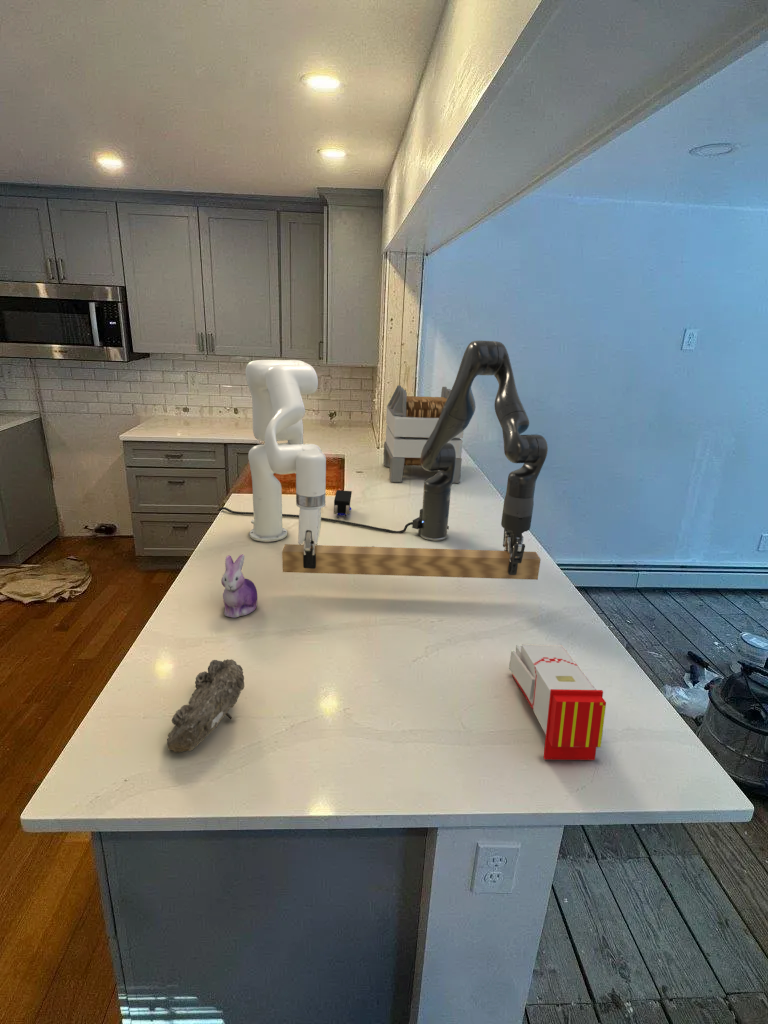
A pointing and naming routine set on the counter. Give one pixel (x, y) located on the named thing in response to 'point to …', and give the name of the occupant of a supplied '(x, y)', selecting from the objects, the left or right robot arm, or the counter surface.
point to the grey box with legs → (413, 431)
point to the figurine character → (342, 503)
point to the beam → (410, 562)
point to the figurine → (237, 589)
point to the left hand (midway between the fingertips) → (310, 562)
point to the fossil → (206, 705)
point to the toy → (560, 700)
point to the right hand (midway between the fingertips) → (509, 569)
